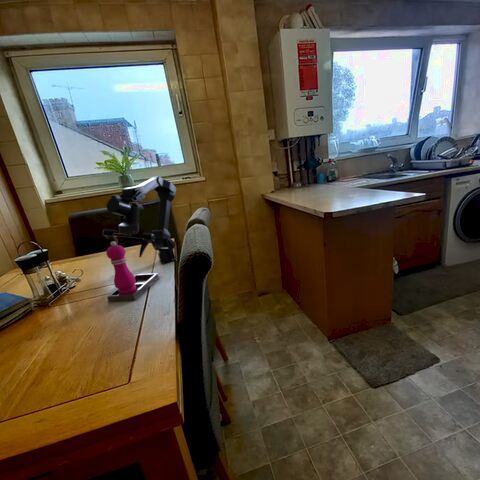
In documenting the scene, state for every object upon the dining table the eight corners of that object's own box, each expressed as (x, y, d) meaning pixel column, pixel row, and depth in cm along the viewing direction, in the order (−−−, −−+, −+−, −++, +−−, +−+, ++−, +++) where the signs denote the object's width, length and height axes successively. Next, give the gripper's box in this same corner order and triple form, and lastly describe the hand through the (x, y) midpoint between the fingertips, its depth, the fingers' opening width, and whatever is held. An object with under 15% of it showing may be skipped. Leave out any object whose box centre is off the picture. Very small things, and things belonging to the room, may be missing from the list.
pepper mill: (142, 287, 107) (128, 237, 100) (132, 296, 100) (115, 243, 93) (125, 288, 108) (109, 239, 101) (113, 297, 101) (96, 245, 94)
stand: (158, 277, 117) (157, 273, 116) (134, 300, 99) (133, 294, 98) (136, 279, 118) (134, 274, 117) (108, 301, 100) (106, 296, 99)
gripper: (99, 211, 103) (95, 253, 103) (152, 217, 107) (148, 257, 107) (109, 216, 114) (105, 254, 114) (156, 222, 118) (153, 258, 118)
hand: (128, 256), depth 113 cm, fingers open, 9 cm apart
